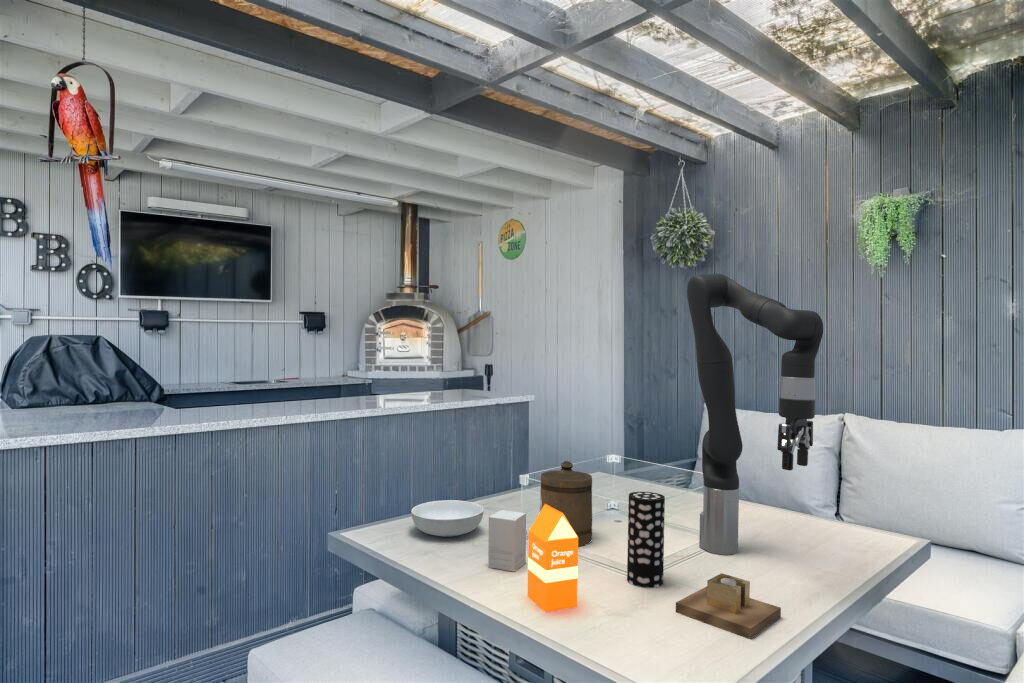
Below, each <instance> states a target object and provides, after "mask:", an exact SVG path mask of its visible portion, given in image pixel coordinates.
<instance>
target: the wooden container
mask: <svg viewBox="0 0 1024 683" xmlns="http://www.w3.org/2000/svg"><path fill="white" fill-rule="evenodd" d="M560 467H561V469H559V470H549V471H544V472H542V473H541V474H540V490H539V491H540V496H539V512H540V511H541V510H542V508H543V506H544V505H545V504H547V505H549V506H550V507H552V508H554V509H556V510H558V511H560V512H562V513H563V514H564V516H565V517H566V519H567V520H568V522H569V524H570V525H571V527H572V528H573V530H574V532H575V533H576V535H577V536H578V548H579V547H583V545H584V546H586V545H585V544H587V545H589V544H590V543H591V542H592V541H591V540H593V477H592V475H591V474H589V473H586V472H582V471H577V470H573V467H574V465H573V463H572V462H571V461H568V460H567V461H566V460H565V461H562V462H561V464H560ZM590 541H591V542H590ZM589 542H590V543H589ZM588 543H589V544H588Z"/></svg>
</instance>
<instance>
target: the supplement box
mask: <svg viewBox="0 0 1024 683" xmlns="http://www.w3.org/2000/svg"><path fill="white" fill-rule="evenodd" d="M526 545H527V513H525V512H518V511H510V510H503V509H499V510H498V511H496V512H495V513H493V514H491V515H489V516H488V560H487V561H488V563H487V564H488V568H490V569H497V570H502V571H508V572H512V573H513V572H516V571H517V570H519V569H520V568H522V566H524V565H525V564H526V561H527V560H526V557H527V555H526V554H527V553H526V552H527V550H526V548H527V546H526Z"/></svg>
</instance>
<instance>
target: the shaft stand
mask: <svg viewBox="0 0 1024 683" xmlns="http://www.w3.org/2000/svg"><path fill="white" fill-rule="evenodd" d="M721 583H723V584H726V585H730V586H733V587H734V586H736V581H735V580H733V579H730V578H722V579H721ZM675 613H677V614H680V615H682V616H686V617H688V618H691V619H694V620H697V621H700V622H702V623H703V624H708V625H711V626H714V627H717V628H718V629H722V630H724V631H727V632H730V633H732V634H735V635H738V636H741V637H744V638H747V639H750V640H751V639H752V638H754V637H756V636H757V635H758V634H760V633H761V632H763V630H765V629H766V628H768V627H769V626H771V625H772V624H773V623H775V622H776V621H777V620H779V619H781V615H782V608H781V607H780V606H777V605H773V604H770V603H767V602H764V601H760V600H758V599H755V598H752V597H750V602H749V606H748V607H747V608H742V607H741V605H740V612H739V613H737V614H733V613H730V612H727V611H724V610H721V609H718V608H715V607H712V606H709V605H707V585H706V586H704V587H702V588H700V589H699V590H697V591H694V592H693V593H691V594H690V595H687V596H685V597H683V598H682V599H680V600H678V601H676V602H675Z"/></svg>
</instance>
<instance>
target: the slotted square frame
mask: <svg viewBox="0 0 1024 683" xmlns="http://www.w3.org/2000/svg"><path fill="white" fill-rule="evenodd" d="M722 578H730V579H733V580H735V581H736V586H734V587H733V586H730V585H726V584H723V583H721V579H722ZM706 583H707V585H706V586H707V605H709V606H712V607H715V608H718V609H721V610H724V611H727V612H730V613H733V614H737V613H739V612H740V605H741V607H742V608H747V607H748V606H749V602H750V598H751V597H750V596H751V595H750V594H751V592H750V591H751V590H750V589H751V581H750V580H745V579H744V578H739V577H736V576H733V575H729V574H726V573H722V572H721V573H719V574H717V575H715V576H714V577H711V578H709V579H708V580H706Z"/></svg>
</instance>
